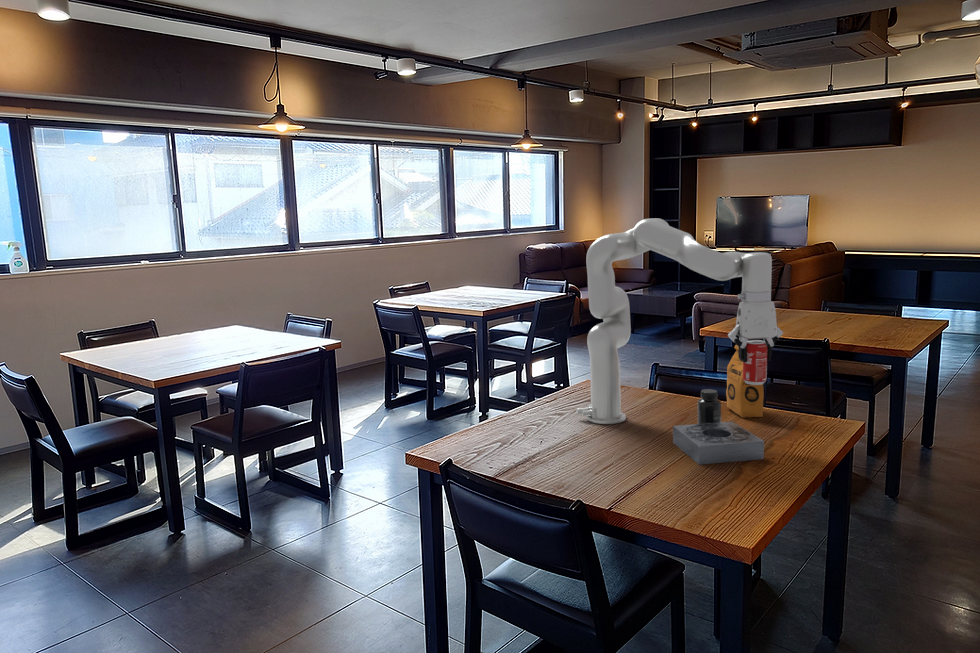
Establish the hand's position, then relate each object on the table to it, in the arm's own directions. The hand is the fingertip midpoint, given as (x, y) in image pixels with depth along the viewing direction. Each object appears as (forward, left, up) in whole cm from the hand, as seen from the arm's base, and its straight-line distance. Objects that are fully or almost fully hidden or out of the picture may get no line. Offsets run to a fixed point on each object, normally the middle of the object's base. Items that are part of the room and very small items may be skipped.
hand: (754, 359), depth 193 cm
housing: (-14, -6, -24) cm, 28 cm away
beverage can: (0, 0, -7) cm, 7 cm away
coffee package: (+10, +25, -24) cm, 37 cm away
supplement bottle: (-8, +12, -24) cm, 28 cm away
